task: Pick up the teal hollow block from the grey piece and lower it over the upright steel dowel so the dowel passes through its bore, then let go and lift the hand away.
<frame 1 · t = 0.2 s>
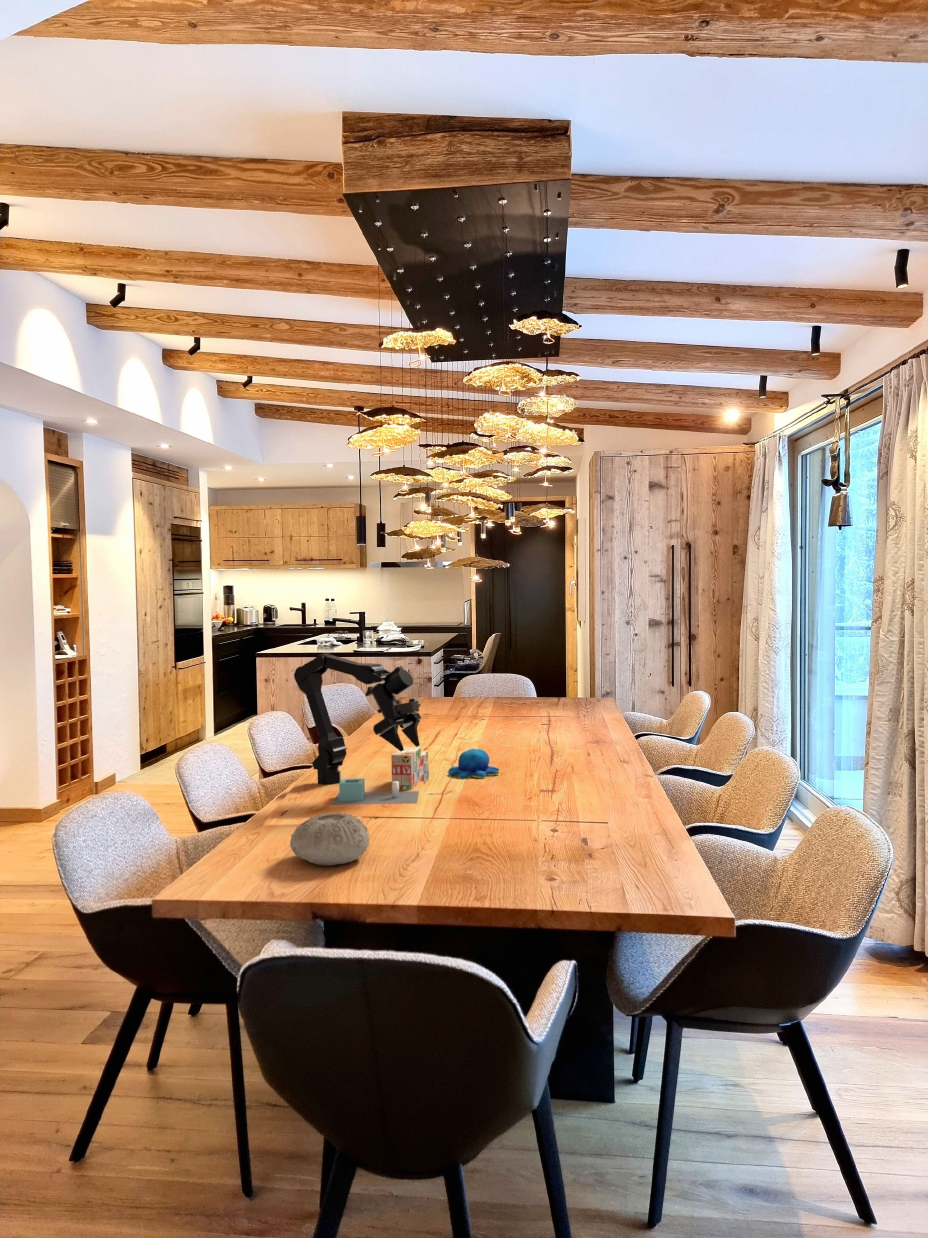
hand: (410, 748, 253), 15 cm above the table, tool tilted 30°, fingers open, 9 cm apart
teal hollow block: (352, 798, 247), point 1 cm above the table, touching grey piece
grey piece: (376, 803, 248), on the table
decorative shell: (330, 860, 197), on the table
plush toy: (473, 774, 285), on the table
stack of blocks: (411, 787, 268), on the table
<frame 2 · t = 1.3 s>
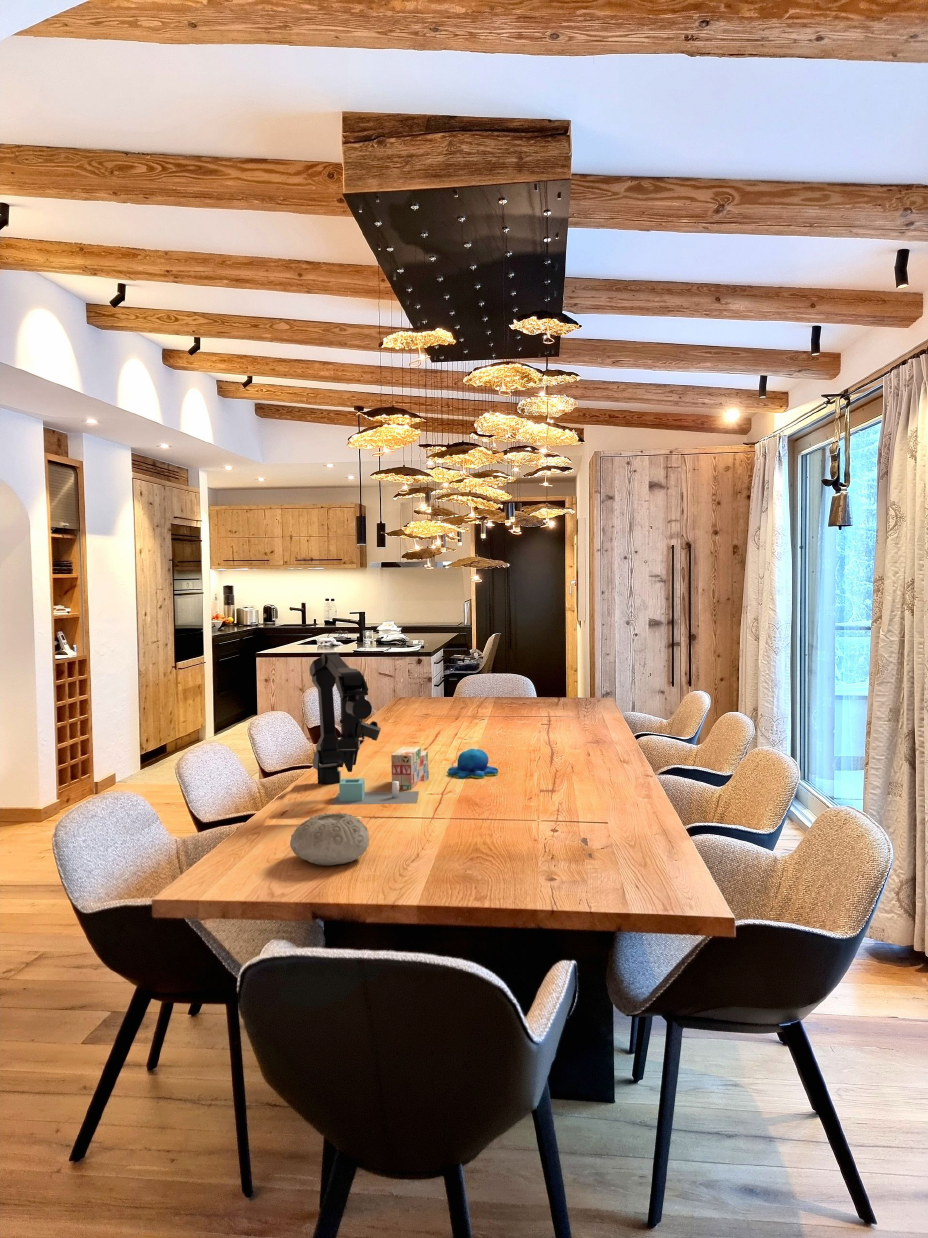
hand: (351, 768, 247), 10 cm above the table, tool pointing down, fingers open, 9 cm apart
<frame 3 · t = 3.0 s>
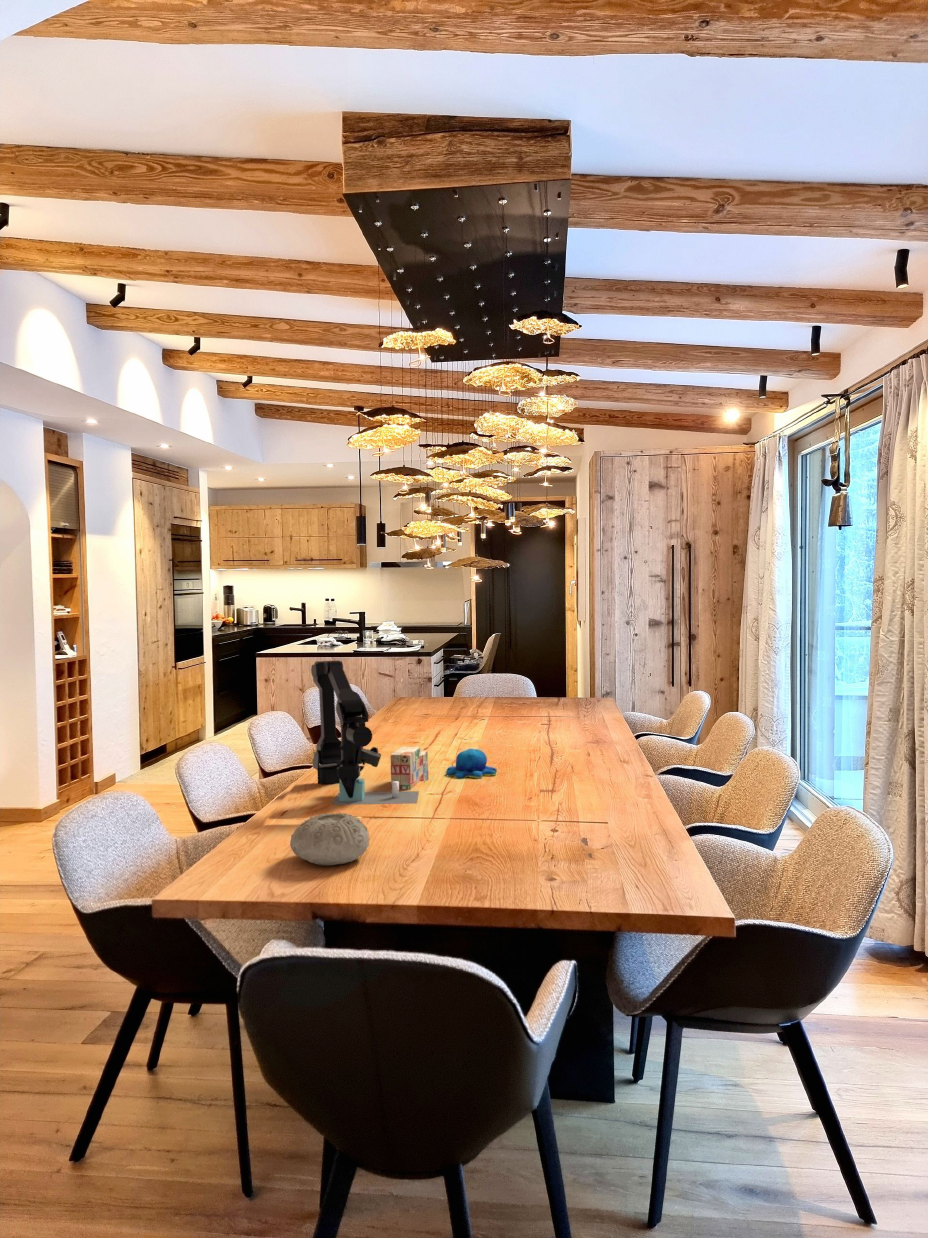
hand: (352, 794, 247), 3 cm above the table, tool pointing down, fingers closed on teal hollow block, 6 cm apart
teal hollow block: (352, 798, 247), point 2 cm above the table, touching gripper, grey piece
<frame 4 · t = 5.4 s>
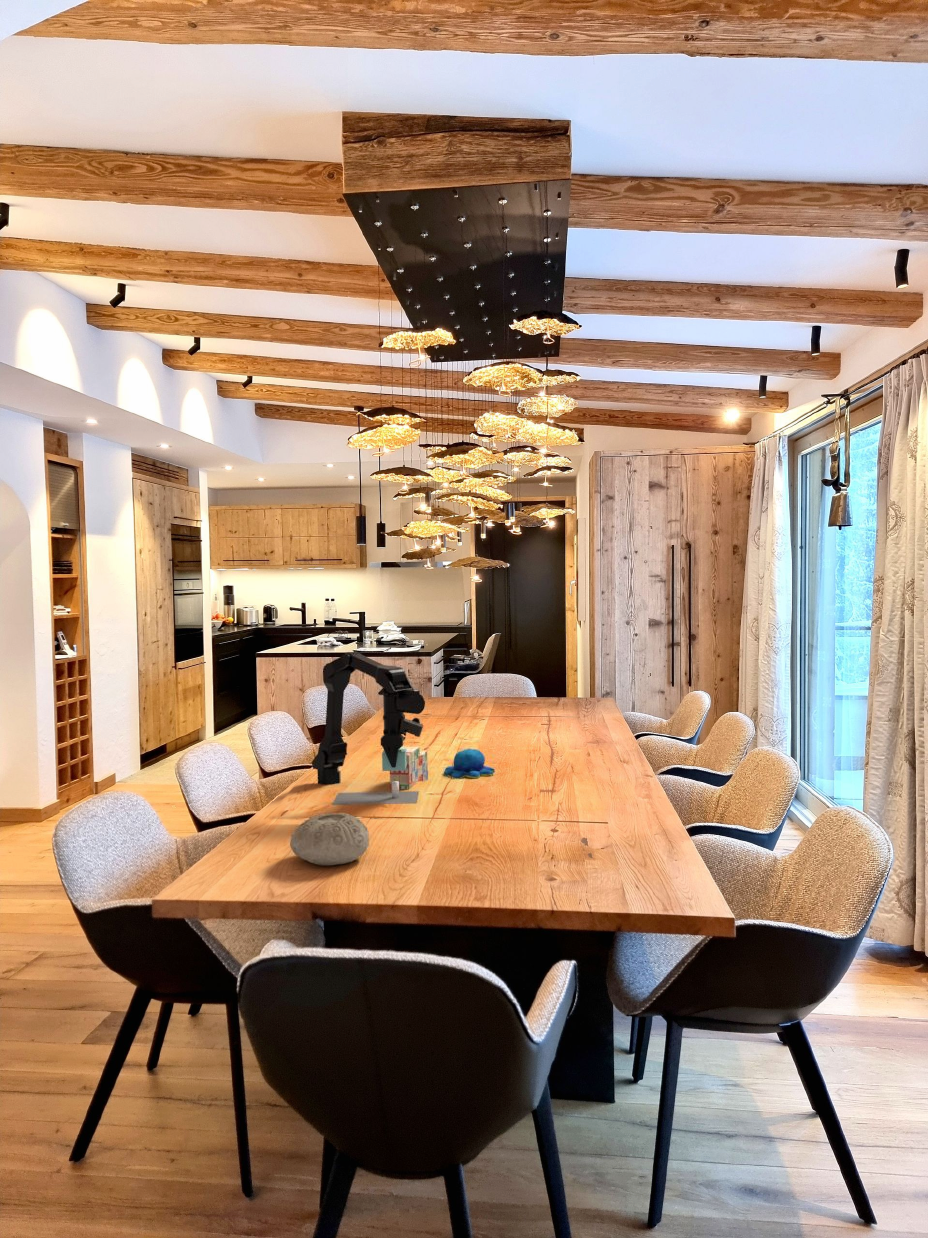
hand: (394, 765, 247), 11 cm above the table, tool pointing down, fingers closed on teal hollow block, 6 cm apart
teal hollow block: (394, 768, 247), point 10 cm above the table, touching gripper
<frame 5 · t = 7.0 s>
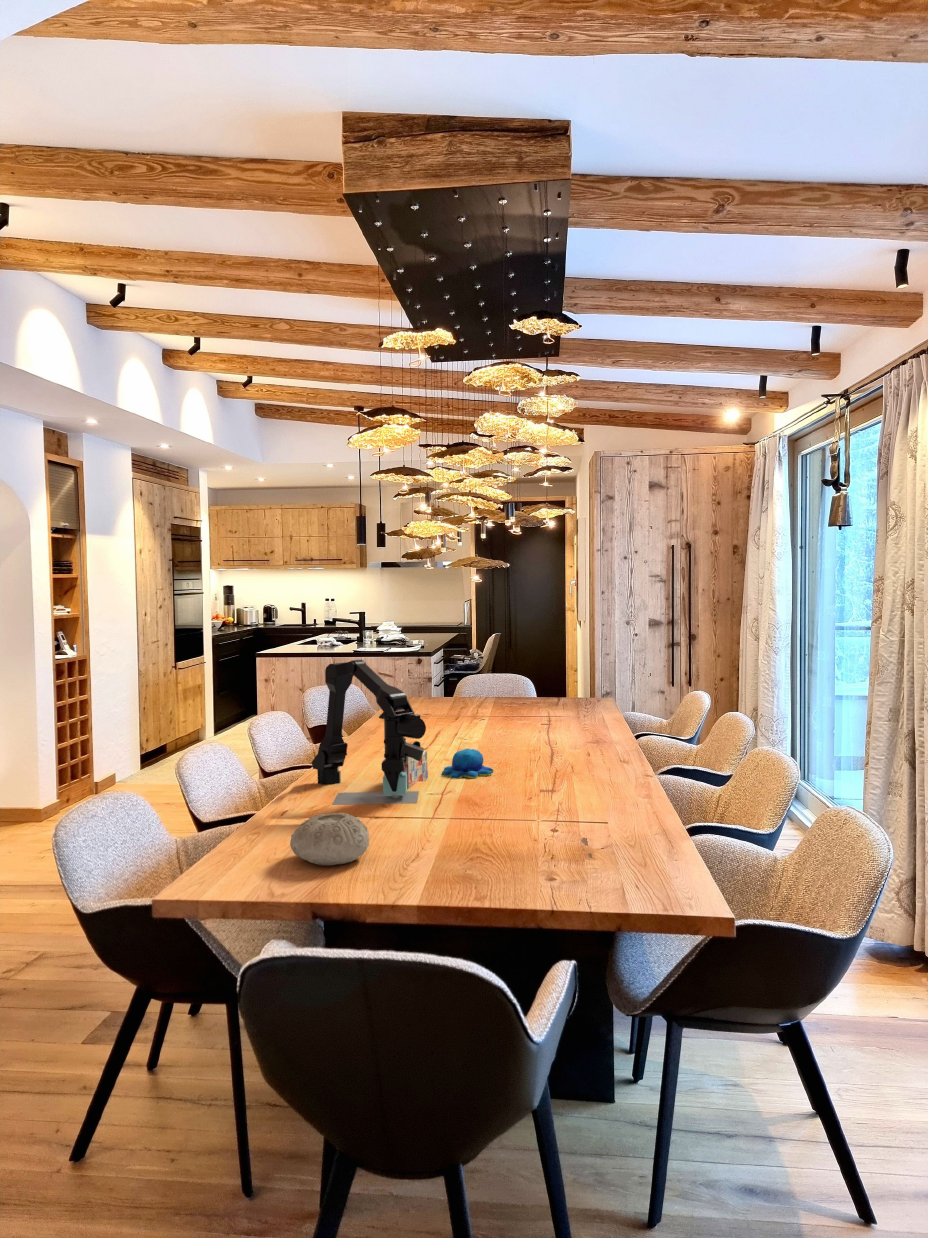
hand: (395, 788, 247), 4 cm above the table, tool pointing down, fingers closed on teal hollow block, 6 cm apart
teal hollow block: (395, 792, 248), point 3 cm above the table, touching gripper
when the fingers open (4 cm above the table, at t = 8.2 s): teal hollow block drops 1 cm, resting on grey piece.
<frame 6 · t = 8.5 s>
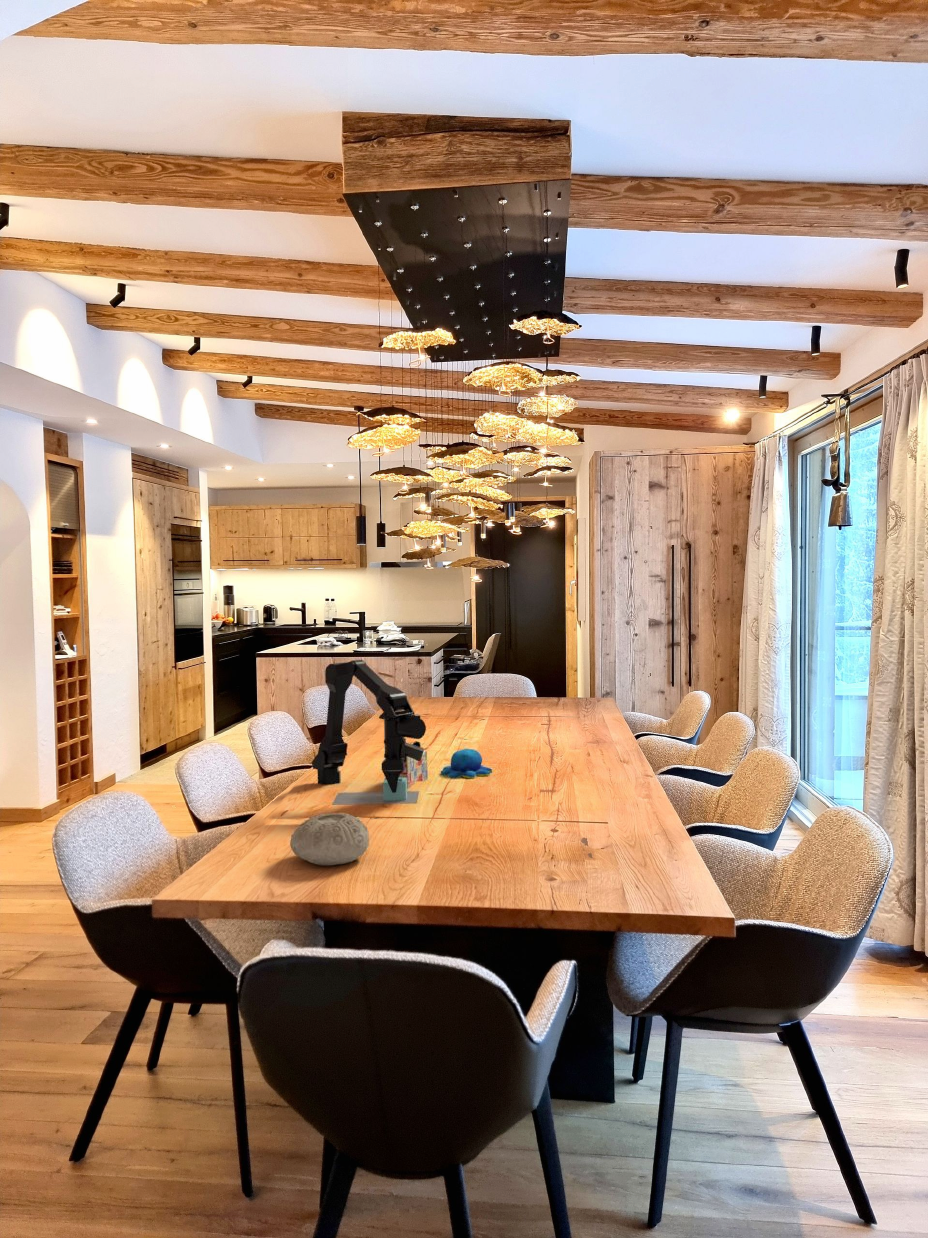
hand: (395, 788, 247), 4 cm above the table, tool pointing down, fingers open, 9 cm apart
teal hollow block: (395, 797, 248), point 1 cm above the table, touching grey piece
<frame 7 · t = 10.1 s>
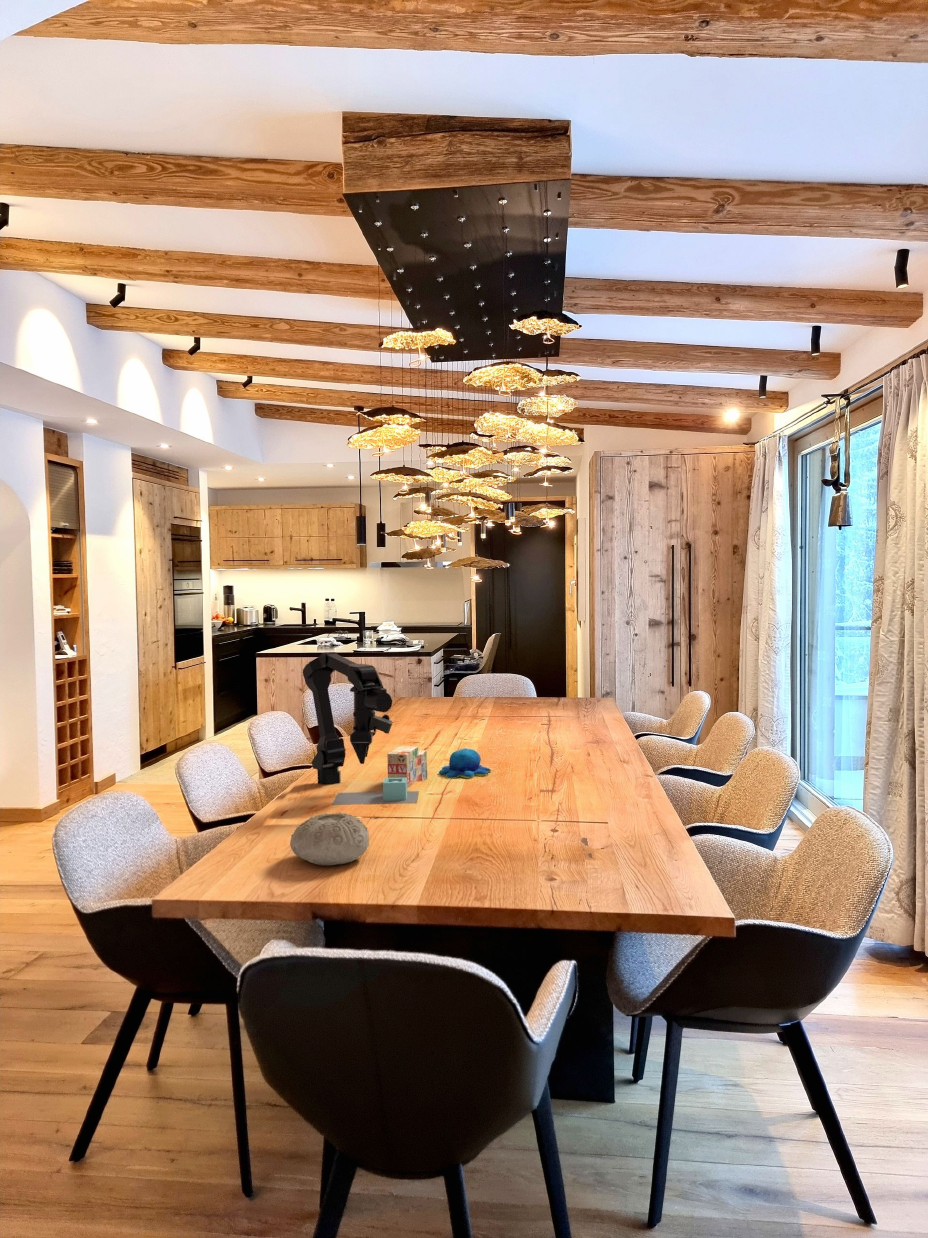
hand: (363, 760, 254), 11 cm above the table, tool pointing down, fingers open, 9 cm apart
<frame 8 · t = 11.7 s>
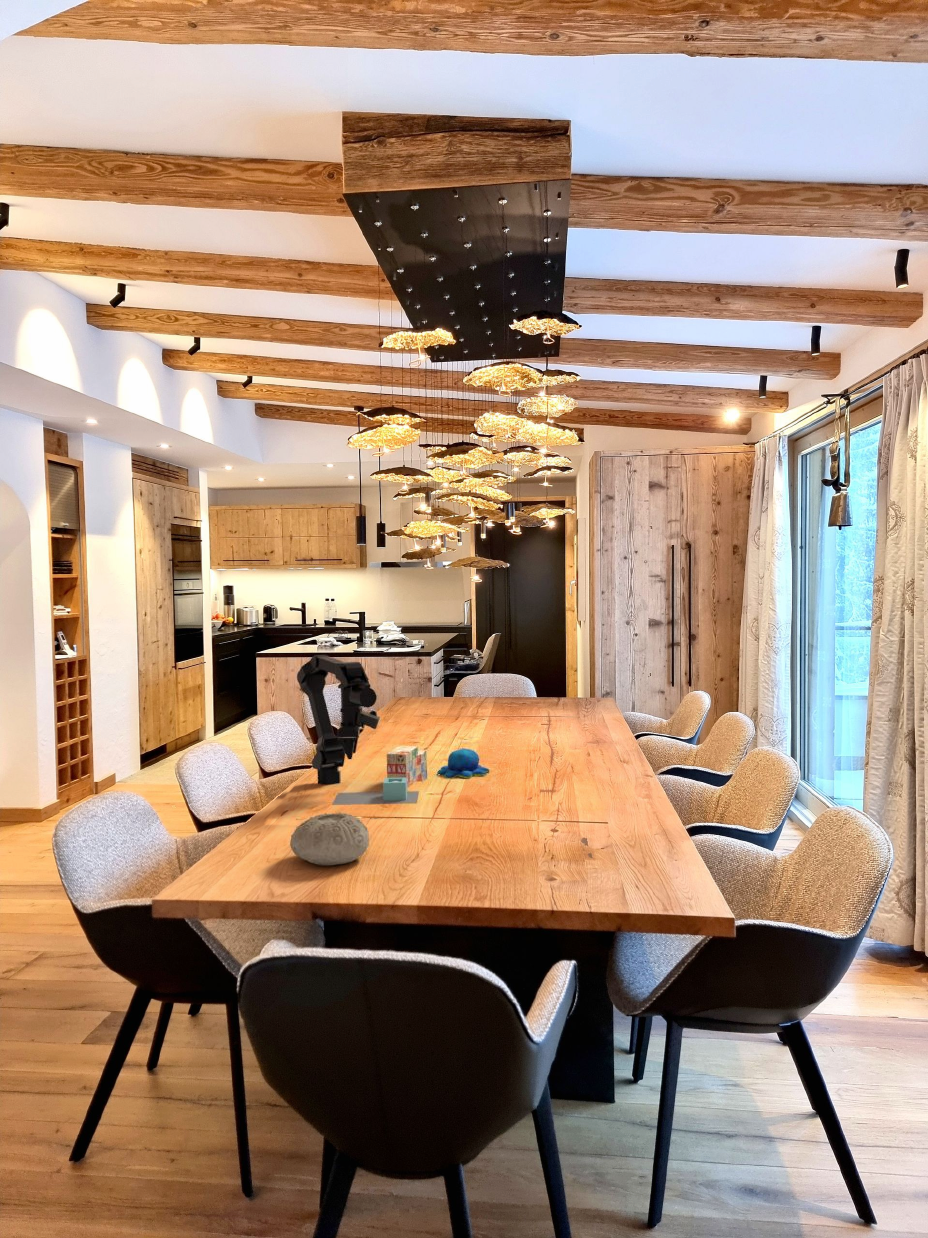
hand: (351, 756, 256), 12 cm above the table, tool pointing down, fingers open, 9 cm apart
at the end: teal hollow block 0.0 cm from the target spot on the grey piece, point 1.5 cm above the grey piece's base; the gripper is holding nothing; teal hollow block tilted 0° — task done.
